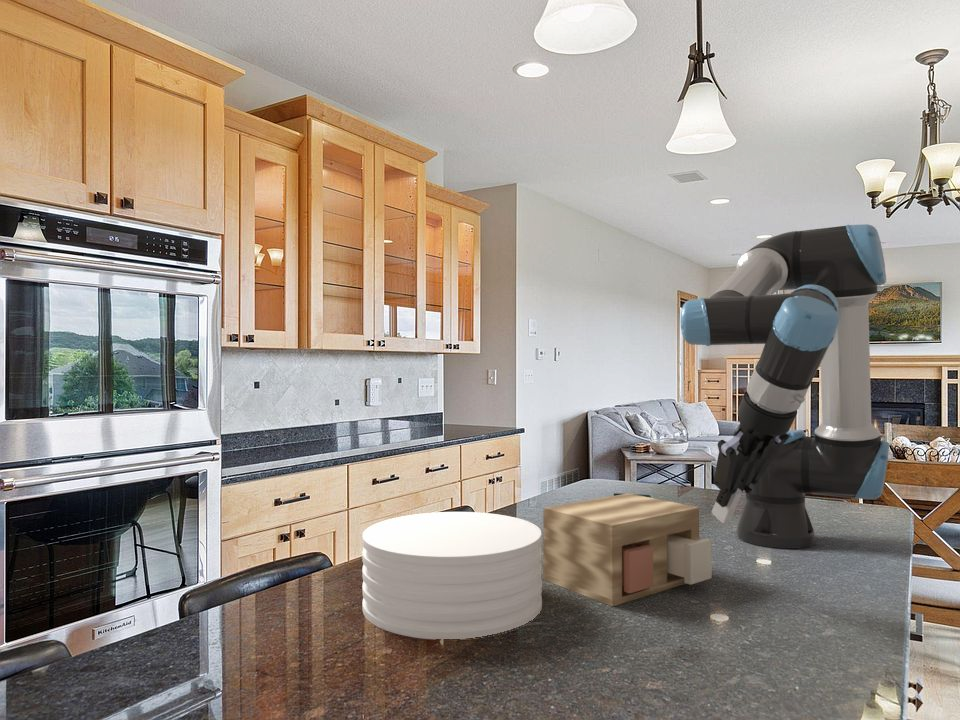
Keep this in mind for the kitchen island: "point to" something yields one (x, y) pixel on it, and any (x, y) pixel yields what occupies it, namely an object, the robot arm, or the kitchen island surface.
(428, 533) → the plate stack
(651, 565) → the rust plug
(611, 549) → the wooden box
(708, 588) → the kitchen island surface
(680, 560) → the cream plug
